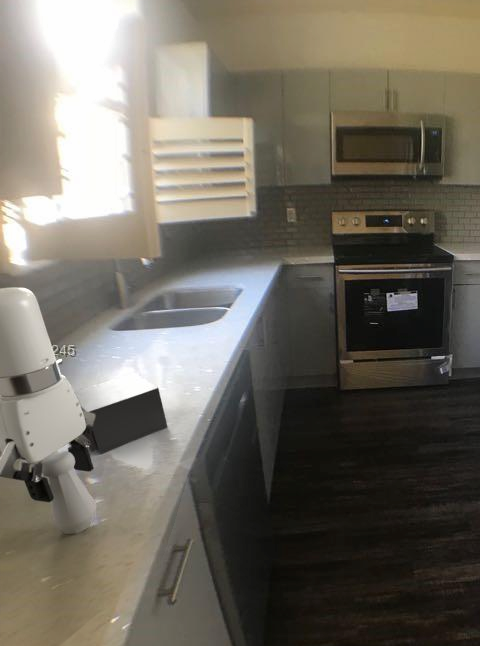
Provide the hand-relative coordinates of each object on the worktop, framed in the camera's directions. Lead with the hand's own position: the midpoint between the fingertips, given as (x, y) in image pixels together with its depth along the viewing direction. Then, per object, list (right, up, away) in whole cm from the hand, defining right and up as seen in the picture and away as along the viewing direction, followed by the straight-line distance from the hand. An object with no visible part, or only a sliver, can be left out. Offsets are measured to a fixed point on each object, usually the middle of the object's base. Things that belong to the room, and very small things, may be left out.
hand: (64, 483), depth 70 cm
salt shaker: (0, -8, +3) cm, 8 cm away
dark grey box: (-8, +3, +30) cm, 31 cm away
